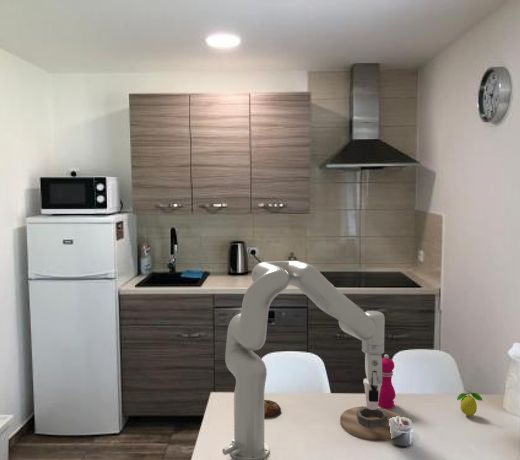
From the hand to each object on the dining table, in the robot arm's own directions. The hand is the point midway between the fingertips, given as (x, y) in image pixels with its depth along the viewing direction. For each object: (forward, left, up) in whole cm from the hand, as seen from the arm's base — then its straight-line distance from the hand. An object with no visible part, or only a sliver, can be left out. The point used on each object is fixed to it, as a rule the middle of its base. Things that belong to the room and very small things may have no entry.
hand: (372, 396), depth 170 cm
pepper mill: (+17, +5, -10) cm, 20 cm away
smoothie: (0, 0, -4) cm, 4 cm away
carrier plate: (0, 0, -10) cm, 10 cm away
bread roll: (-19, +33, -11) cm, 40 cm away
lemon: (+31, -21, -10) cm, 39 cm away
